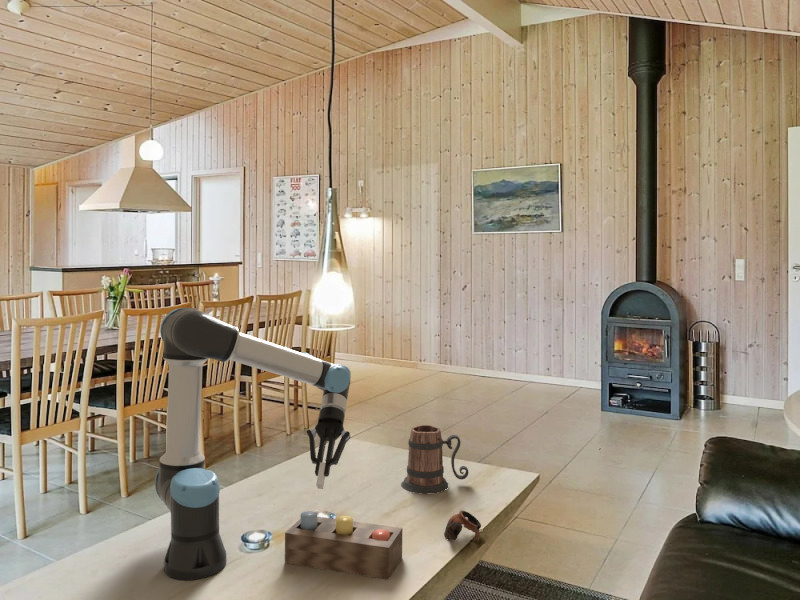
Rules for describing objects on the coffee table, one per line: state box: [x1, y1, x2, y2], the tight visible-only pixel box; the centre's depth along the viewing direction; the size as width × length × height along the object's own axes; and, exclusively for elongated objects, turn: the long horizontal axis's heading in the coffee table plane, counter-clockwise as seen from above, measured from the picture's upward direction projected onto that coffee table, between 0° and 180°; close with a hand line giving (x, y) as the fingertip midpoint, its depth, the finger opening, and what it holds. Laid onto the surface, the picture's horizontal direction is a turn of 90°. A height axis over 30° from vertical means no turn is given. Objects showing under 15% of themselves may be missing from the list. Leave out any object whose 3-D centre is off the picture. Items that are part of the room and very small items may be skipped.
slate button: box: [300, 510, 318, 531], centre depth 166 cm, size 4×4×4 cm
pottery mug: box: [443, 510, 482, 542], centre depth 177 cm, size 12×10×8 cm
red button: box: [372, 529, 390, 541], centre depth 161 cm, size 4×4×4 cm
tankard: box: [400, 424, 469, 495], centre depth 219 cm, size 24×17×20 cm
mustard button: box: [335, 515, 354, 536], centre depth 163 cm, size 4×4×4 cm
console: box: [284, 516, 403, 580], centre depth 164 cm, size 28×12×8 cm, turn 74°
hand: (319, 486), depth 173 cm, fingers closed
